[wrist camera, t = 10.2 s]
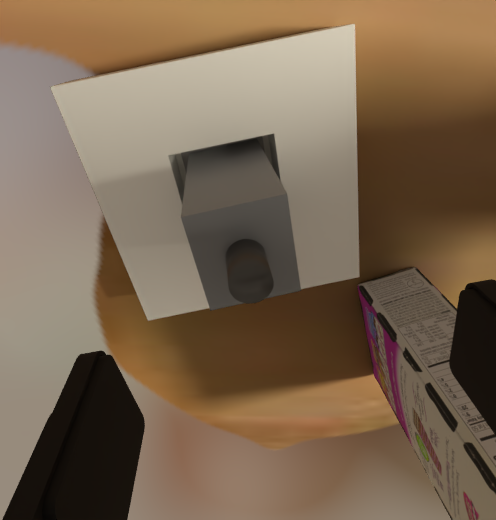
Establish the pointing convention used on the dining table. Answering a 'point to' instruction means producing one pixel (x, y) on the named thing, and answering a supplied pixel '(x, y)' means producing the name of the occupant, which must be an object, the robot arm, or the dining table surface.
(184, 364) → the dining table surface
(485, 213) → the dining table surface
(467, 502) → the candy bar box
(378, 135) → the dining table surface
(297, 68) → the socket plate
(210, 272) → the plug
